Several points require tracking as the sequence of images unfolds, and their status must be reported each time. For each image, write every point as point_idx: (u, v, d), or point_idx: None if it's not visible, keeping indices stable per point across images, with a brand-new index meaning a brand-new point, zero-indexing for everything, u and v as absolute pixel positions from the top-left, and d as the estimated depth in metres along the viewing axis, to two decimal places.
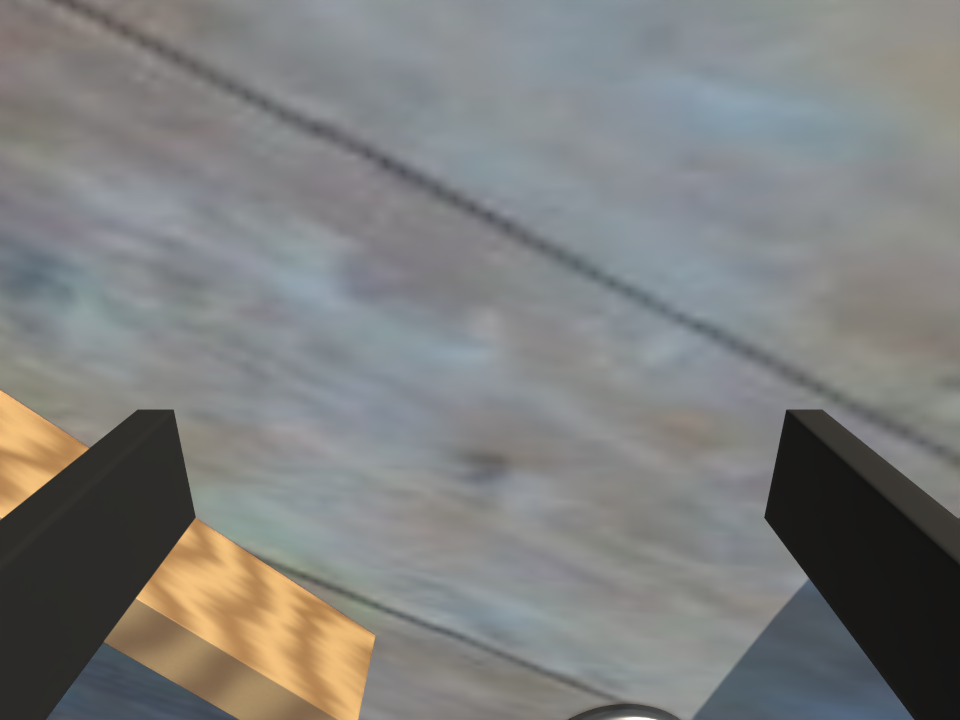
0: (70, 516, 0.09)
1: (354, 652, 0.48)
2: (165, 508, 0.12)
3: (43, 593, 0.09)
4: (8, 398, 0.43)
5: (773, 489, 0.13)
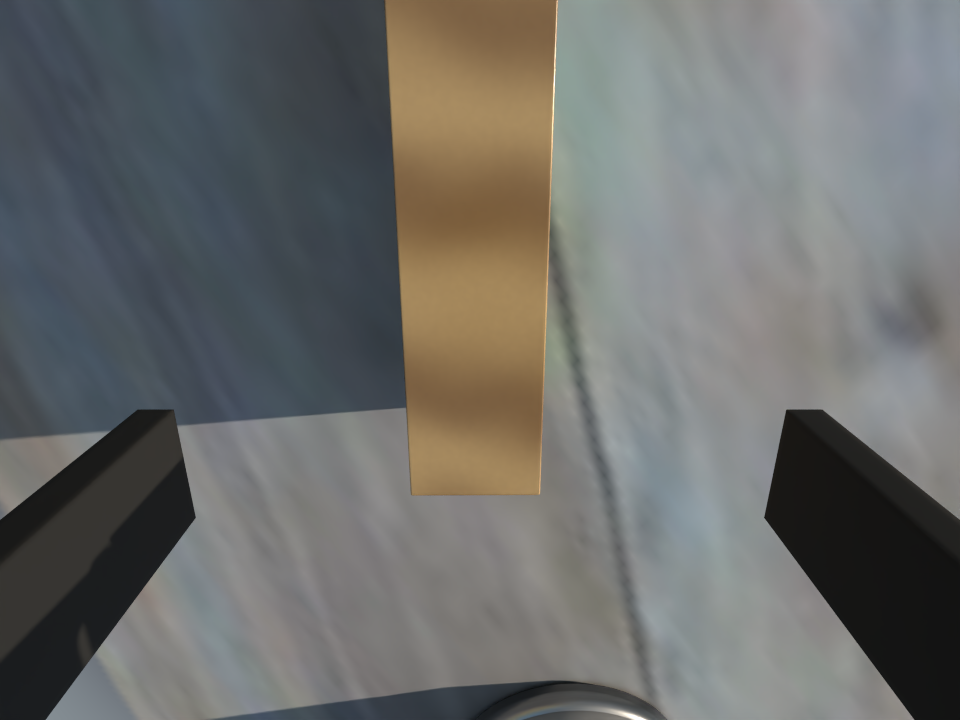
0: (70, 516, 0.09)
1: None
2: (165, 508, 0.12)
3: (43, 593, 0.09)
4: None
5: (774, 489, 0.13)
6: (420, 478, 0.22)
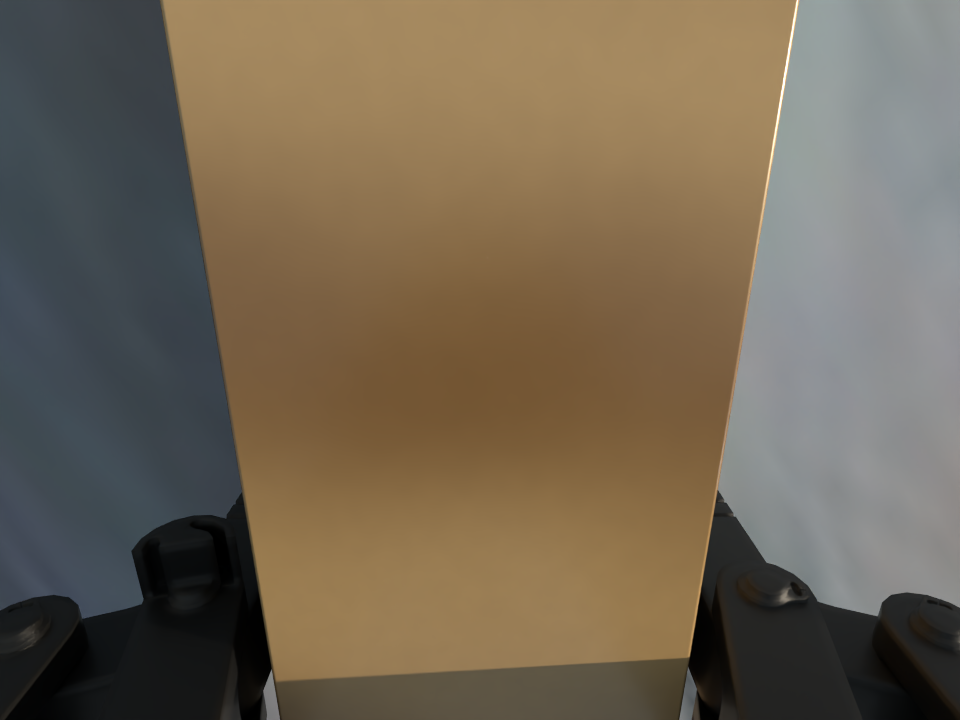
0: None
1: None
2: None
3: None
4: None
5: None
6: None
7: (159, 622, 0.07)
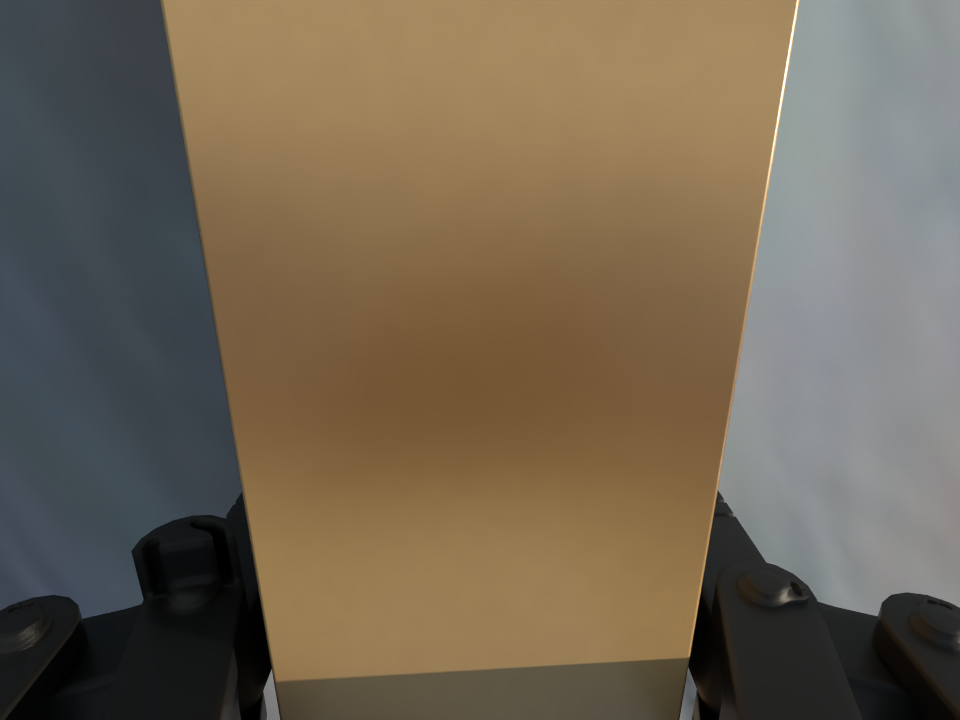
0: None
1: None
2: None
3: None
4: None
5: None
6: None
7: (159, 622, 0.07)
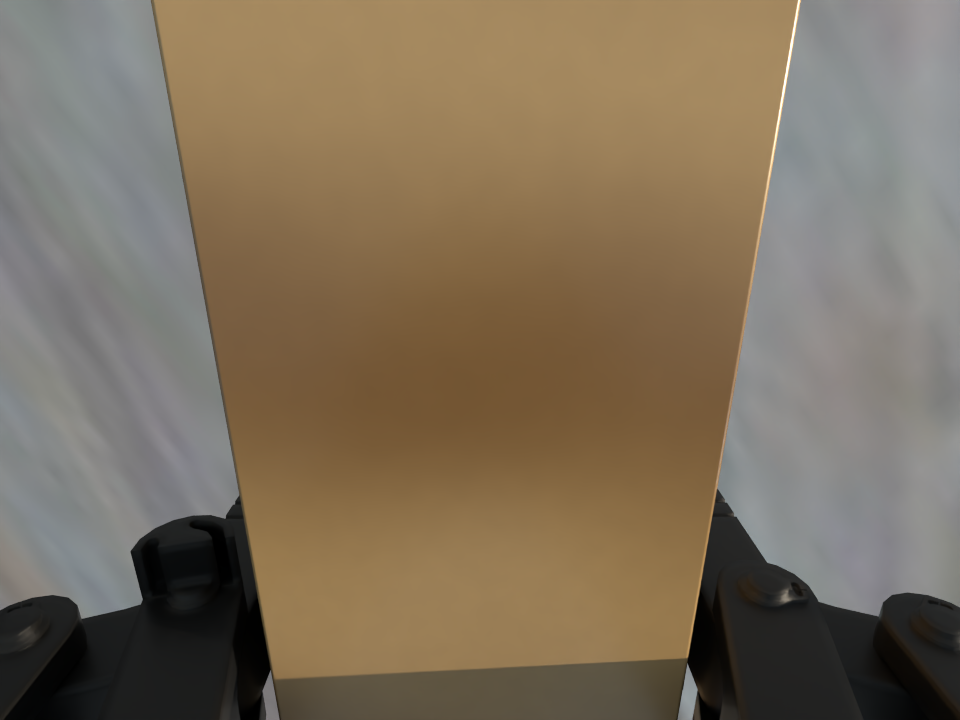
0: None
1: None
2: None
3: None
4: None
5: None
6: None
7: (158, 622, 0.07)
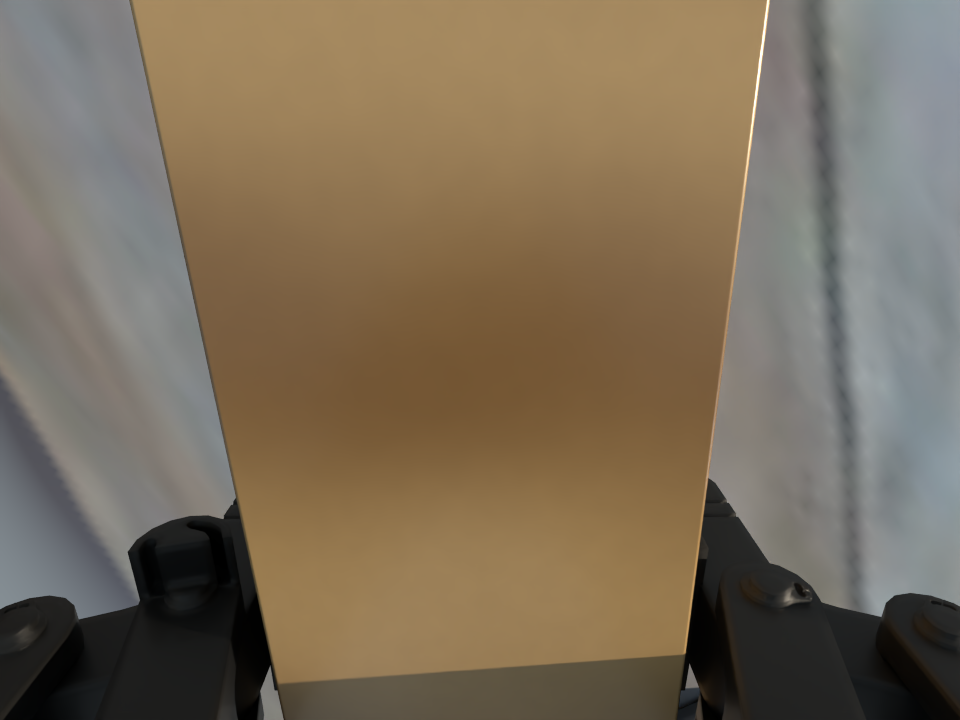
0: None
1: None
2: None
3: None
4: None
5: None
6: None
7: (156, 623, 0.07)
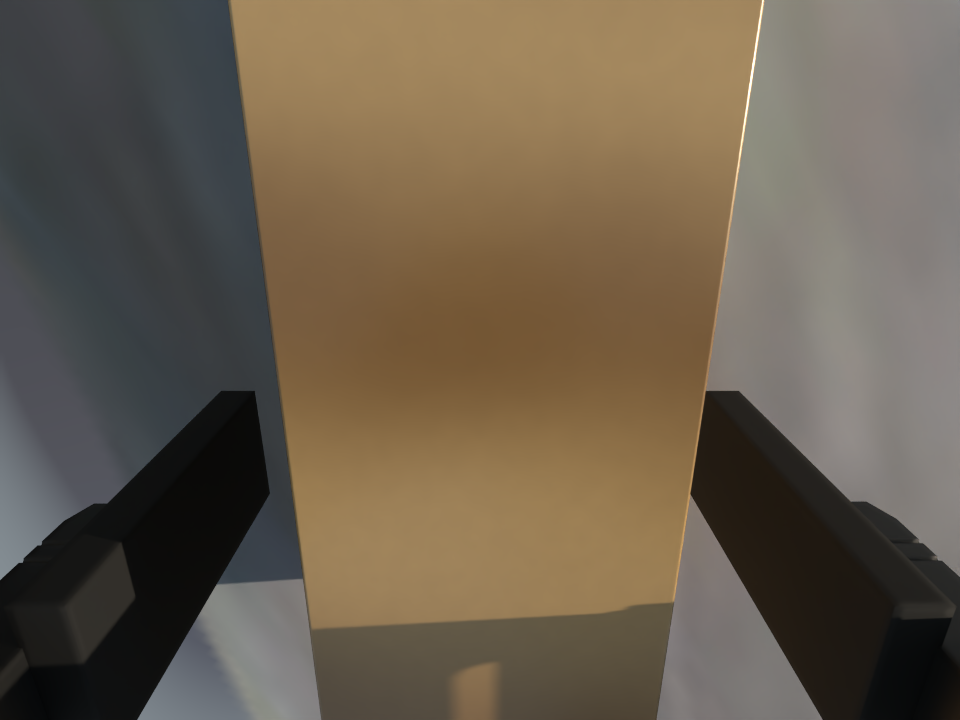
0: (185, 482, 0.10)
1: None
2: (248, 482, 0.13)
3: (167, 550, 0.10)
4: None
5: (696, 466, 0.14)
6: None
7: None
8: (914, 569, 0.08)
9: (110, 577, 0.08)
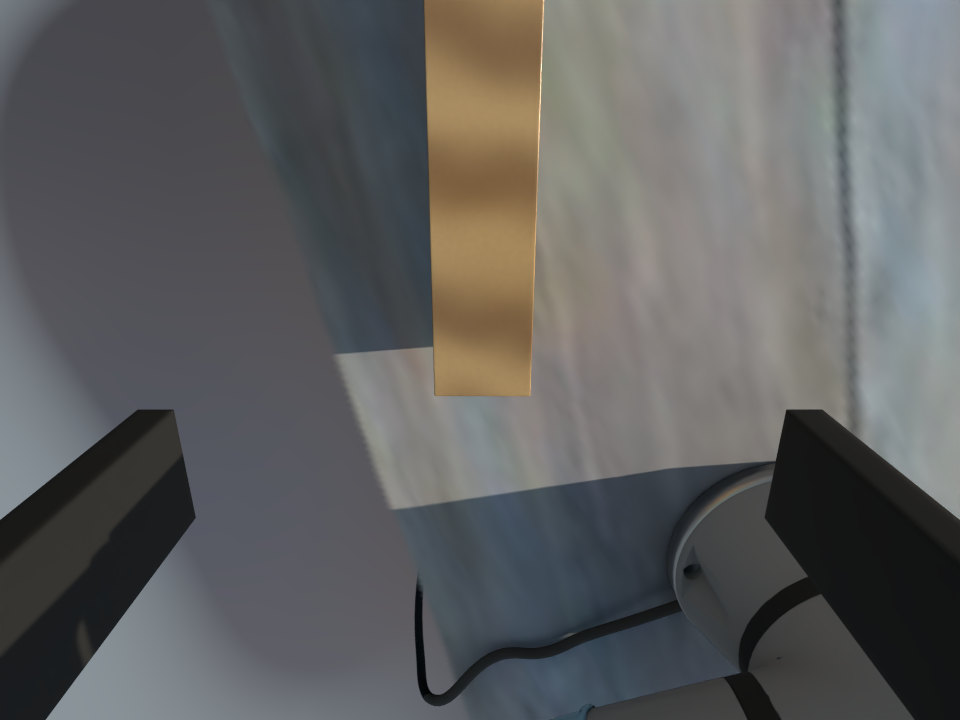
0: (70, 516, 0.09)
1: None
2: (165, 508, 0.12)
3: (43, 593, 0.09)
4: None
5: (774, 489, 0.13)
6: (441, 382, 0.29)
7: None
8: None
9: None
